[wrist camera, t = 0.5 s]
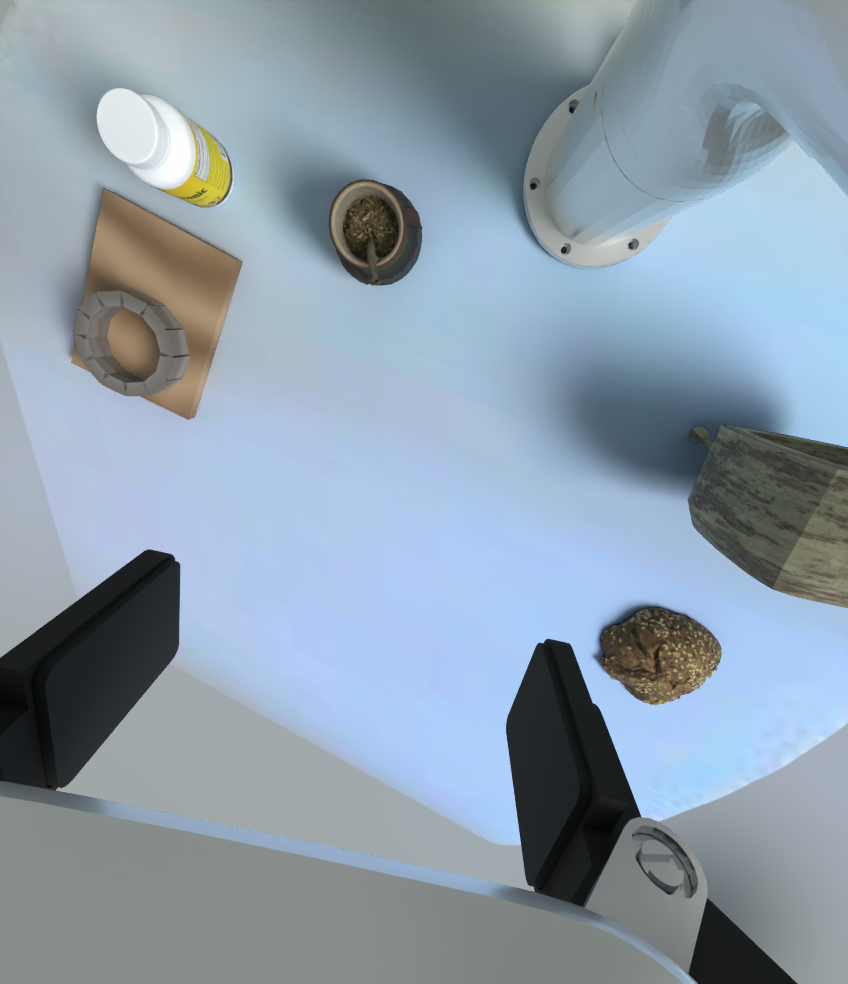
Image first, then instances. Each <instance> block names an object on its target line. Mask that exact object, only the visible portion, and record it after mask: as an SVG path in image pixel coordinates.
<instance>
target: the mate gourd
mask: <svg viewBox="0 0 848 984" xmlns="http://www.w3.org/2000/svg"><path fill="white" fill-rule="evenodd" d="M329 228H330V234H331V238H332V240H333V243H334V245H335V247H336V250H337V253H338V255H339V257H340V259H341V262H342V265H343V266H344V268H345V269H346V270H347V271H348V272H349V273H350V274H351V275H352V276H353V277H354V278H356V279H357V280H358V281H360V282H362V283H365V284H367V285H368V284H371V285H372V286H373V285H377V286H378V285H389V284H393V283H394V282H397V281H398V280H400V279H402V278H403V277H404V276H406V275H407V274H408V273H409V271H410V270H411V269H412V267H413V266H414V264H415V263H416V261H417V260H418V256H419V253H420V248H421V242H422V226H421V223H420V218H419V215H418V212H417V211H416V210H415V208H414V207H413V205H412V203H411V202H410V201H409V200H408V198H407V197H406V196H405V195H404V194H403V193H402V191H399V190H397V189H395V188H393V187H392V186H389V185H386V184H382V183H379V182H377V181H374V180H358V181H355V182H352V183H350V184H348V185H347V186H346V187H344V188H343V189H342V190H341V191H340V192H339V193H338V195H337V196H336V198H335V199H334V201H333V203H332V206H331V210H330V217H329Z"/></svg>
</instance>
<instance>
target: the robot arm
mask: <svg viewBox="0 0 848 984" xmlns="http://www.w3.org/2000/svg"><path fill="white" fill-rule="evenodd" d="M570 108H573V109H574V113H573V114H572V113H570V112H569V109H570ZM793 141H795V142H796V143H797V144H798V145H799V146H800V147H801V149H802V150H803V151H804V152H805V153H806V154H807V155H808V156H809V157H811V158H814V159H815V160H816V161H817V162H818V163H819V164H820V165H821V167H822V168H823V169H824V170H825V171H826V172H827V174H828V175H829V176H830V177H831V178H832V179H833V181H834V182H835V183H836V184H837V185H838V186H839V187H840V189H841V190H842V191H843V192H844V193H845V194H846V196H847V197H848V0H638V2H637V3H636V5H635V7H634V9H633V10H632V12H631V14H630V16H629V17H628V19H627V21H626V23H625V24H624V26H623V28H622V30H621V31H620V33H619V35H618V37H617V38H616V40H615V42H614V44H613V45H612V47H611V49H610V50H609V52H608V54H607V56H606V57H605V59H604V61H603V63H602V64H601V66H600V68H599V69H598V71H597V73H596V75H595V76H594V78H593V80H592V82H591V83H590V84H589V85H587V86H585V87H583V88H582V89H580V90H578V91H576V92H575V93H573V94H572V95H570V96H569V97H568V98H567V99H566V100H565V101H563V102H562V103H561V104H560V105H559V106H558V107H557V108H556V109H555V110H554V112H553V113H552V114H551V115H550V116H549V118H548V119H547V120H546V122H545V123H544V125H543V127H542V128H541V130H540V132H539V133H538V135H537V137H536V139H535V141H534V143H533V146H532V148H531V151H530V154H529V157H528V160H527V164H526V167H525V174H524V181H523V202H524V207H525V212H526V217H527V220H528V223H529V225H530V228H531V230H532V232H533V234H534V236H535V237H536V239H537V240H538V242H539V244H540V245H541V246H542V247H543V248H544V249H545V250H546V251H547V252H548V253H549V254H550V255H552V256H553V257H555V258H556V259H558V260H559V261H561V262H563V263H566V264H568V265H571V266H573V267H579V268H586V269H591V268H603V267H607V266H611V265H614V264H617V263H620V262H622V261H625V260H627V259H629V258H631V257H632V256H634V255H636V254H638V253H639V252H641V251H642V250H643V249H644V248H645V247H646V246H648V245H649V244H650V243H651V242H652V241H654V239H655V238H656V237H657V236H658V235H659V234H660V233H661V231H662V230H663V229H664V228H665V226H666V225H667V223H668V222H669V220H670V219H671V217H672V216H674V215H676V214H678V213H680V212H682V211H684V210H686V209H688V208H690V207H692V206H694V205H696V204H699V203H701V202H703V201H705V200H707V199H709V198H711V197H713V196H715V195H717V194H719V193H721V192H723V191H725V190H727V189H729V188H731V187H733V186H735V185H737V184H739V183H741V182H742V181H744V180H746V179H748V178H749V177H751V176H752V175H754V174H755V173H757V172H758V171H760V170H762V169H763V168H764V167H765V166H767V165H768V164H769V163H771V162H772V161H773V160H774V159H775V158H776V157H777V156H779V155H780V154H781V153H782V152H783V151H784V150H785V149H786V148H787V147H788V146H789V145H790V144H791V143H792V142H793ZM531 184H535V185H536V189H535V190H532V189H531V188H530V185H531ZM629 243H631V244H632V248H631V249H629V248H628V244H629ZM562 247H564V248H566V253H564V254H563V253H562V252H561V248H562ZM179 608H180V564H179V562H177V561H175V558H174V556H173V555H172V554H168V553H164V552H159V551H155V550H146V551H144V552H143V553H141V554H140V555H138V556H137V557H136V558H134V559H133V560H132V561H130V562H129V563H128V564H126V565H125V566H124V567H122V568H121V569H120V570H118V571H117V572H116V573H114V574H113V575H112V576H110V577H109V578H107V579H106V580H105V581H103V582H102V583H101V584H99V585H98V586H97V587H95V588H94V589H93V590H91V591H90V592H89V593H87V594H86V595H85V596H83V597H82V598H80V599H79V600H78V601H76V602H75V603H74V604H72V605H71V606H70V607H68V608H67V609H66V610H64V611H63V612H62V613H60V614H59V615H58V616H56V617H55V618H54V619H52V620H51V621H49V622H48V623H47V624H45V625H44V626H43V627H41V628H40V629H39V630H37V631H36V632H35V633H33V634H32V635H31V636H29V637H28V638H27V639H25V640H24V641H23V642H21V643H20V644H19V645H17V646H16V647H14V648H13V649H12V650H10V651H9V652H8V653H7V654H5V655H4V656H2V657H1V658H0V984H797V983H796V982H795V981H794V980H793V979H792V978H791V977H790V976H789V975H788V974H787V973H786V972H785V971H784V970H782V969H781V968H780V967H779V966H778V965H777V964H776V963H775V962H774V961H773V960H772V959H771V958H770V957H769V956H768V955H766V953H765V952H764V951H762V950H761V949H760V948H759V947H758V946H757V945H756V944H755V943H754V942H753V941H752V940H751V939H750V938H749V937H748V936H747V935H746V934H745V933H744V932H743V931H741V930H740V929H739V928H738V927H737V926H736V925H735V924H734V923H733V922H732V921H731V920H730V919H729V918H728V917H727V916H726V915H725V914H724V913H723V912H722V911H720V910H719V909H718V908H717V907H716V906H715V905H714V904H713V903H712V902H711V901H710V900H709V899H708V898H707V883H706V879H705V876H704V872H703V870H702V868H701V866H700V864H699V862H698V860H697V858H696V857H695V855H694V854H693V853H692V851H691V850H690V849H689V847H688V846H687V845H686V843H685V842H684V841H683V840H681V839H680V838H679V837H678V836H677V835H676V834H675V833H674V832H673V831H672V830H670V829H669V828H667V827H666V826H664V825H663V824H661V823H659V822H657V821H654V820H652V819H650V818H642V817H641V815H640V812H639V810H638V807H637V804H636V802H635V799H634V797H633V794H632V791H631V789H630V786H629V784H628V781H627V778H626V776H625V773H624V771H623V768H622V765H621V763H620V760H619V758H618V755H617V752H616V750H615V747H614V745H613V742H612V739H611V737H610V734H609V732H608V729H607V726H606V724H605V721H604V718H603V716H602V713H601V711H600V709H599V708H598V706H596V705H595V704H593V703H592V700H591V698H590V695H589V692H588V689H587V687H586V684H585V681H584V679H583V676H582V673H581V671H580V668H579V665H578V662H577V660H576V657H575V654H574V652H573V649H572V647H571V645H570V644H569V643H565V642H560V641H556V640H551V639H546V640H545V642H544V644H543V643H538V644H537V646H536V648H535V650H534V653H533V655H532V658H531V660H530V663H529V665H528V668H527V670H526V673H525V675H524V678H523V680H522V683H521V685H520V688H519V690H518V693H517V695H516V697H515V700H514V702H513V705H512V707H511V710H510V712H509V715H508V718H507V723H506V734H507V741H508V749H509V756H510V764H511V771H512V779H513V786H514V794H515V801H516V809H517V817H518V824H519V832H520V839H521V846H522V854H523V861H524V869H525V876H526V880H527V883H528V885H529V886H533V887H534V890H535V892H532V891H527V890H524V889H519V888H515V887H510V886H507V885H502V884H498V883H494V882H490V881H485V880H481V879H477V878H473V877H469V876H464V875H460V874H455V873H451V872H446V871H441V870H437V869H432V868H428V867H422V866H418V865H413V864H408V863H404V862H399V861H395V860H390V859H386V858H381V857H377V856H372V855H367V854H363V853H357V852H353V851H349V850H344V849H339V848H334V847H330V846H325V845H320V844H315V843H311V842H306V841H301V840H296V839H292V838H287V837H282V836H277V835H273V834H268V833H263V832H258V831H253V830H249V829H244V828H239V827H234V826H229V825H225V824H219V823H215V822H210V821H205V820H200V819H195V818H191V817H186V816H181V815H175V814H171V813H166V812H161V811H155V810H151V809H146V808H141V807H136V806H131V805H127V804H122V803H116V802H112V801H107V800H102V799H97V798H92V797H87V796H82V795H76V794H70V793H65V792H59V791H55V790H56V789H57V788H58V787H60V788H63V787H65V786H66V785H67V784H69V783H70V782H71V781H72V780H73V779H74V777H75V776H76V775H77V774H78V773H79V771H80V770H81V769H82V768H83V767H84V765H85V764H86V763H87V762H88V761H89V759H90V758H91V757H92V756H93V754H94V753H95V752H96V751H97V749H98V748H99V747H100V746H101V745H102V743H104V741H105V740H106V739H107V738H108V737H109V735H110V734H111V733H112V732H113V730H114V729H115V728H116V727H117V726H118V724H119V723H120V722H121V721H122V720H123V718H124V717H125V716H126V715H127V714H128V712H129V711H130V710H131V709H132V708H133V706H134V705H135V704H136V703H137V702H138V700H139V699H140V698H141V697H142V695H143V694H144V693H145V692H146V691H147V689H148V688H149V687H150V686H151V684H152V683H153V682H154V681H155V680H156V679H157V677H158V676H159V675H160V674H161V673H162V671H163V670H164V669H165V668H166V667H167V665H168V664H169V663H170V662H171V661H172V659H173V658H174V656H175V655H176V652H177V650H178V646H179Z"/></svg>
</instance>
